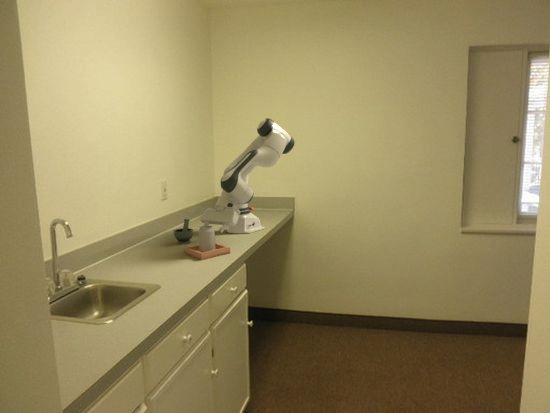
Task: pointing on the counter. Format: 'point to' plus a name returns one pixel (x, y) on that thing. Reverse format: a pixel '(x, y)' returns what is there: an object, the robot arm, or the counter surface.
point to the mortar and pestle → (184, 233)
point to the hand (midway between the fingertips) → (212, 231)
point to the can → (206, 238)
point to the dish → (198, 254)
